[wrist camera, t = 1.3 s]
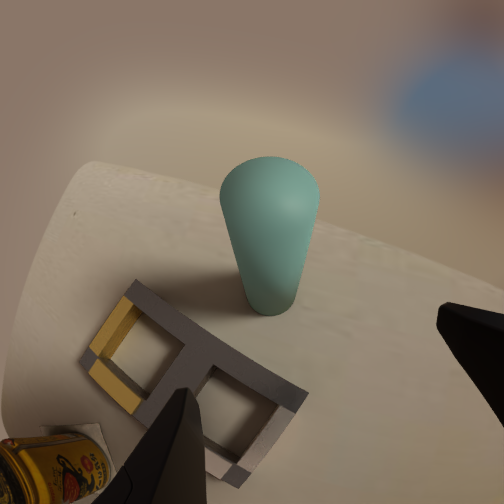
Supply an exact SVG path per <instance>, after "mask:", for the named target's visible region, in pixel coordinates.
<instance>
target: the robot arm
mask: <svg viewBox="0 0 504 504" xmlns="http://www.w3.org/2000/svg"><path fill="white" fill-rule="evenodd" d="M436 326H437V329H438V331H439V333H440V334H441V336H442V337H443V339H444V340H445V342H446V344H447V345H448V347H449V348H450V350H451V352H452V353H453V355H454V356H455V358H456V359H457V361H458V362H459V364H460V365H461V366H462V367H463V369H464V370H465V371H466V373H467V374H468V376H469V377H470V378H471V380H472V381H473V382H474V384H475V385H476V387H477V388H478V389H479V391H480V392H481V394H482V395H483V397H484V398H485V400H486V401H487V402H488V404H489V405H490V407H491V408H492V410H493V411H494V413H495V415H496V416H497V418H498V419H499V421H500V422H501V424H502V426H503V427H504V314H501V313H496V312H492V311H487V310H483V309H478V308H473V307H469V306H464V305H460V304H455V303H451V302H447V303H445V304H443V305H441V306H440V307H439V309H438V316H437V322H436ZM91 504H207V499H206V472H205V446H204V438H203V432H202V424H201V417H200V409H199V405H198V403H197V401H196V399H195V397H194V395H193V394H192V392H191V390H190V389H189V388H188V387H184V388H178V389H176V390H175V391H174V393H173V394H172V395H171V397H170V398H169V400H168V401H167V403H166V404H165V406H164V407H163V409H162V410H161V411H160V413H159V414H158V416H157V417H156V419H155V420H154V422H153V423H152V424H151V426H150V427H149V429H148V430H147V432H146V433H145V434H144V436H143V437H142V439H141V440H140V442H139V443H138V444H137V446H136V447H135V449H134V450H133V452H132V453H131V454H130V456H129V457H128V459H127V460H126V461H125V463H124V466H122V467H121V468H120V470H119V471H118V473H117V474H116V475H115V477H114V478H113V479H112V481H111V482H110V483H109V484H108V486H107V487H106V488H105V489H104V490H103V491H102V493H101V494H100V495H99V496H98V497H97V498H96V499H95V500H94V501H93V502H92V503H91Z"/></svg>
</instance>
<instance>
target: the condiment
mask: <svg viewBox="0 0 504 504" xmlns="http://www.w3.org/2000/svg"><path fill="white" fill-rule="evenodd" d="M40 429H41V433H42V435H43V437H31V438H8V439H4V440H2V441H1V442H0V504H69V503H72V502H74V501H76V500H79V499H82V498H83V497H86V496H88V495H90V494H93V493H98V494H101V493H102V491H103V490H104V489H105V488H106V487H107V486H108V484H109V483H110V482H111V481H112V479H113V478H114V477H115V475H116V474H117V472H116V470H115V467H114V464H113V462H112V459H111V457H110V454H109V451H108V448H107V445H106V443H105V440H104V438H103V435H102V432H101V429H100V425H99V423H94V424H82V425H67V426H40Z"/></svg>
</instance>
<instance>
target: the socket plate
mask: <svg viewBox="0 0 504 504" xmlns="http://www.w3.org/2000/svg"><path fill="white" fill-rule="evenodd" d="M142 312H144V313H145V314H146V315H148V316H149V317H150V318H151V319H153V320H154V321H155V322H156V323H158V324H159V325H160V326H162V327H163V328H164V329H165V330H167V331H168V332H169V333H171V334H172V335H173V336H175V337H176V338H177V339H179V340H180V341H181V342H183V343H184V344H185V346H184V347H183V349H182V350H181V352H180V353H179V354H178V356H177V357H176V359H175V360H174V362H173V363H172V365H171V366H170V367H169V369H168V370H167V372H166V373H165V375H164V376H163V377H162V379H161V380H160V382H159V383H158V385H157V386H156V387H155V389H154V390H153V392H152V393H151V395H149V394H148V393H147V392H146V391H145V390H143V389H142V388H141V387H140V386H139V385H138V384H137V383H135V382H134V381H133V380H132V379H131V378H130V377H129V376H128V375H126V374H125V373H124V372H123V371H122V370H121V369H120V368H119V367H118V366H117V365H116V364H115V363H114V362H113V361H112V360H111V359H110V358H111V357H112V355H113V354H114V352H115V351H116V349H117V348H118V347H119V345H120V344H121V342H122V341H123V339H124V338H125V336H126V335H127V333H128V332H129V330H130V329H131V328H132V326H133V325H134V323H135V322H136V320H137V319H138V317H139V316H140V315H141V313H142ZM80 364H81V365H82V366H83V367H84V368H85V369H86V370H87V371H88V373H89V374H90V375H91V376H92V378H93V379H94V380H95V381H96V382H97V383H98V384H99V385H100V386H101V387H102V388H103V389H104V390H105V391H106V392H107V393H108V394H109V395H110V396H111V397H112V398H113V399H114V400H115V401H116V402H118V403H119V404H120V405H121V406H122V407H123V408H124V409H125V410H126V411H127V412H128V413H130V414H131V415H133V416H134V417H135V418H136V419H137V420H138V421H140V422H141V423H142V424H143V425H144V426H146V427H147V428H148V429H149V427H150V426H151V424H152V423H153V422H154V420H155V419H156V417H157V416H158V414H159V413H160V411H161V410H162V409H163V407H164V406H165V404H166V403H167V401H168V400H169V398H170V397H171V395H172V394H173V393H174V391H175V390H176V389H178V388H184V387H188V388H189V389H190V390H191V392H192V394H193V395H194V397H195V398H196V397H197V395H198V394H199V392H200V391H201V390H202V388H203V387H204V385H205V384H206V382H207V381H208V380H209V378H210V377H211V375H212V374H213V372H214V371H215V370H216V368H217V367H218V368H220V369H221V370H223V371H224V372H226V373H228V374H229V375H231V376H232V377H234V378H235V379H237V380H238V381H240V382H242V383H243V384H245V385H246V386H248V387H250V388H251V389H253V390H255V391H256V392H258V393H260V394H261V395H263V396H265V397H266V398H268V399H270V400H272V401H273V402H275V403H277V404H278V405H277V407H276V408H275V410H274V411H273V413H272V414H271V416H270V417H269V418H268V420H267V421H266V423H265V424H264V425H263V427H262V428H261V430H260V431H259V432H258V434H257V435H256V436H255V438H254V439H253V441H252V442H251V443H250V445H249V446H248V447H247V448H246V450H245V451H244V452H243V454H242V455H241V456H240V457H238V456H236V455H235V454H233V453H231V452H230V451H228V450H226V449H225V448H223V447H221V446H220V445H218V444H217V443H215V442H214V441H212V440H210V439H209V438H207V437H206V436H204V435H203V438H204V446H205V471H207V472H209V473H210V474H212V475H214V476H215V477H217V478H219V479H222V480H223V481H225V482H227V483H228V484H230V485H232V486H234V487H236V488H238V489H239V488H240V486H241V485H242V484H243V483H244V482H245V481H246V479H247V478H248V477H249V476H250V474H251V473H252V472H253V471H254V470H255V468H256V467H257V466H258V465H259V463H260V462H261V461H262V459H263V458H264V457H265V456H266V454H267V453H268V452H269V450H270V449H271V448H272V446H273V445H274V444H275V442H276V441H277V440H278V438H279V437H280V435H281V434H282V433H283V431H284V430H285V428H286V427H287V425H288V424H289V423H290V421H291V420H292V418H293V417H294V415H295V414H296V412H297V411H298V409H299V408H300V406H301V405H302V403H303V402H304V400H305V398H306V397H307V395H308V394H309V393H308V392H306V391H305V390H303V389H301V388H299V387H297V386H295V385H294V384H292V383H290V382H288V381H287V380H285V379H283V378H281V377H280V376H278V375H276V374H274V373H273V372H271V371H269V370H268V369H266V368H264V367H263V366H261V365H259V364H258V363H256V362H254V361H253V360H251V359H249V358H248V357H246V356H245V355H243V354H241V353H240V352H238V351H237V350H235V349H234V348H232V347H230V346H229V345H227V344H226V343H224V342H223V341H221V340H220V339H218V338H217V337H215V336H214V335H212V334H211V333H209V332H208V331H206V330H205V329H203V328H202V327H200V326H199V325H198V324H196V323H195V322H193V321H192V320H190V319H189V318H188V317H186V316H185V315H183V314H182V313H181V312H179V311H178V310H176V309H175V308H174V307H172V306H171V305H170V304H168V303H167V302H165V301H164V300H163V299H161V298H160V297H159V296H157V295H156V294H155V293H153V292H152V291H151V290H150V289H148V288H147V287H146V286H144V285H143V284H142V283H141V282H139V281H138V280H137V279H135V281H134V282H133V283H132V285H131V286H130V288H129V289H128V290H127V292H126V293H125V294H124V296H123V297H122V299H121V300H120V302H119V303H118V304H117V306H116V307H115V309H114V310H113V311H112V313H111V314H110V316H109V317H108V319H107V320H106V322H105V323H104V325H103V326H102V328H101V329H100V331H99V332H98V334H97V335H96V337H95V338H94V340H93V341H92V343H91V344H90V346H89V347H88V349H87V351H86V352H85V354H84V355H83V357H82V358H81V360H80Z"/></svg>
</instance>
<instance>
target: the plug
mask: <svg viewBox="0 0 504 504" xmlns="http://www.w3.org/2000/svg"><path fill="white" fill-rule="evenodd" d="M319 199H320V194H319V188H318V185H317V183H316V181H315V179H314V177H313V176H312V175H311V174H310V173H309V171H307V170H306V169H305V168H304V167H303V166H301V165H299V164H298V163H296V162H294V161H291V160H288V159H284V158H280V157H260V158H255V159H251V160H248V161H246V162H244V163H242V164H241V165H239V166H237V167H236V168H234V169H233V170H232V171H231V172H230V173H229V174H228V175H227V177H226V178H225V180H224V182H223V183H222V186H221V190H220V204H221V207H222V211H223V215H224V218H225V222H226V226H227V229H228V233H229V236H230V240H231V244H232V247H233V251H234V254H235V258H236V261H237V265H238V268H239V272H240V275H241V279H242V282H243V286H244V289H245V293H246V296H247V300H248V302H249V304H250V306H251V307H252V308H253V309H254V310H255V311H256V312H258V313H260V314H262V315H266V316H276V315H279V314H282V313H284V312H285V311H287V310H288V309H289V308H290V307H291V305H292V304H293V302H294V299H295V296H296V292H297V289H298V285H299V281H300V278H301V274H302V270H303V266H304V262H305V259H306V255H307V251H308V247H309V243H310V239H311V235H312V231H313V226H314V222H315V218H316V213H317V209H318V205H319Z"/></svg>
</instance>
